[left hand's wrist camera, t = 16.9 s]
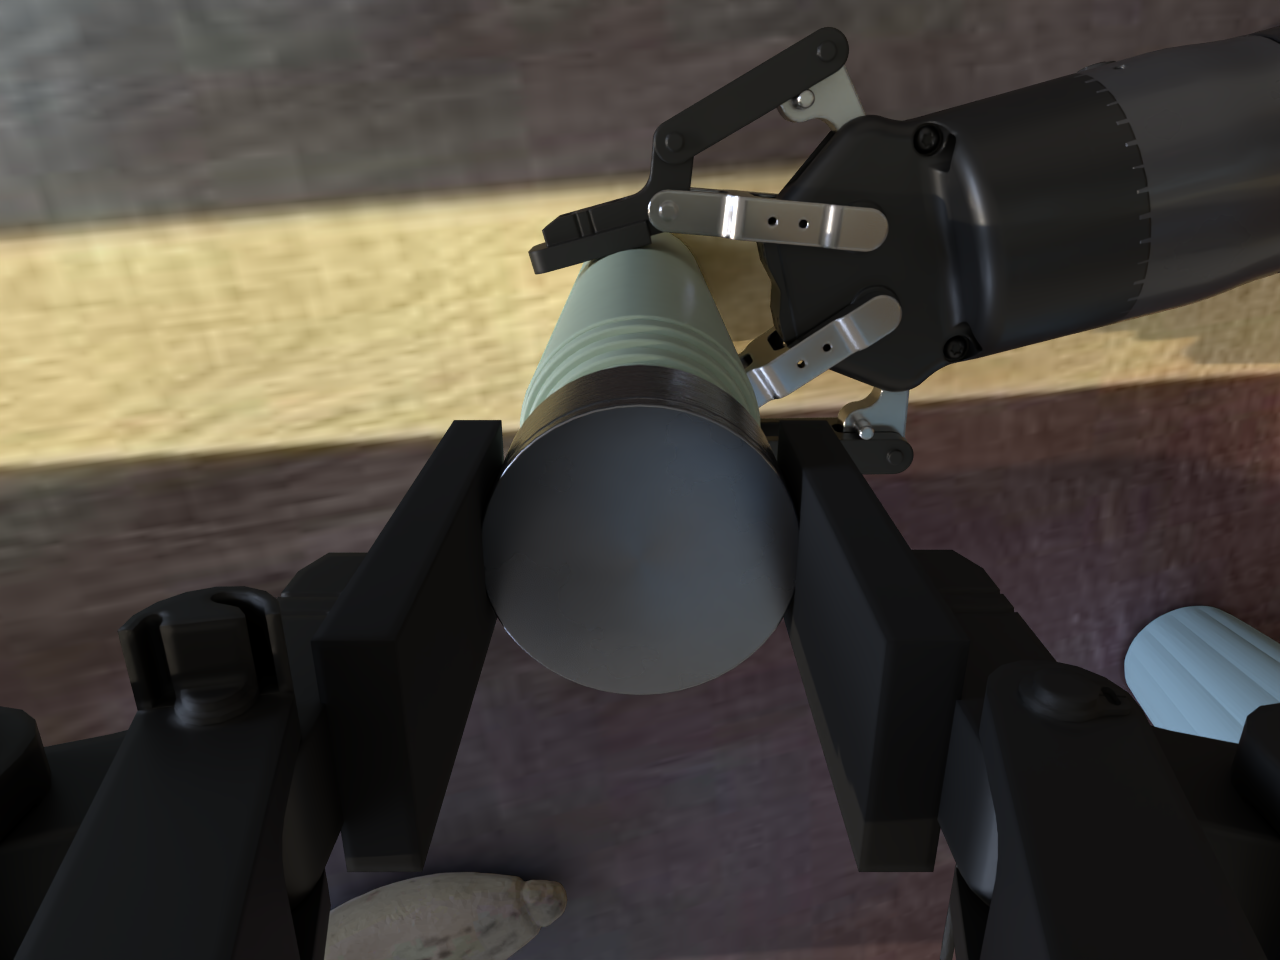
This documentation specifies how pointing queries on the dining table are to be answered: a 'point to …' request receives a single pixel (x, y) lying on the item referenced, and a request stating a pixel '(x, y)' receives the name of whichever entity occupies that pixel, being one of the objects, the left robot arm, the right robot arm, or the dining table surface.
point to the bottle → (641, 324)
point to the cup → (1202, 672)
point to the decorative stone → (444, 918)
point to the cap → (640, 533)
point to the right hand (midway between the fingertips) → (561, 343)
